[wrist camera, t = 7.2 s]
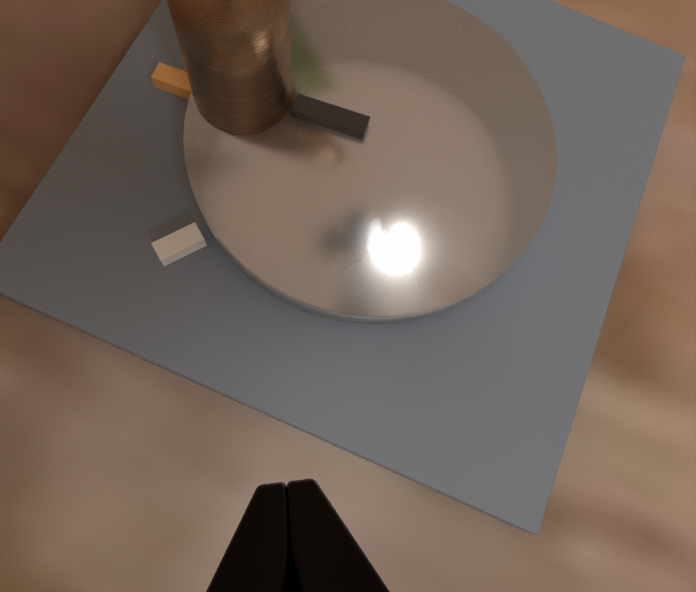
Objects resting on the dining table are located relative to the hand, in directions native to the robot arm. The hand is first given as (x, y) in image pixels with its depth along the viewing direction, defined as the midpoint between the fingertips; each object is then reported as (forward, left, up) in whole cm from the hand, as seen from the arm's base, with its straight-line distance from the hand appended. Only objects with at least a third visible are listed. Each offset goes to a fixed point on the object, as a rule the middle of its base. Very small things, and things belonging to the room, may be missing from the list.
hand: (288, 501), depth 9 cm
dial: (+12, +2, -10) cm, 16 cm away
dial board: (+12, +2, -11) cm, 16 cm away
